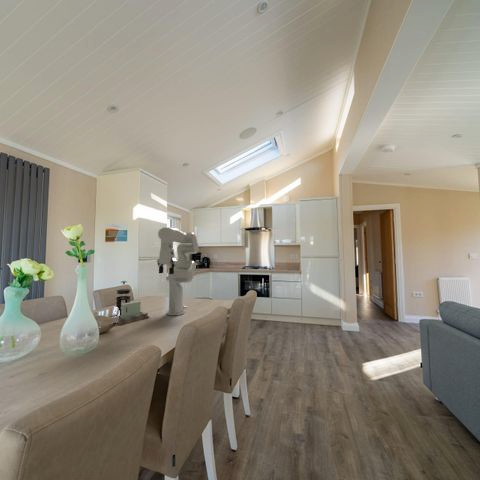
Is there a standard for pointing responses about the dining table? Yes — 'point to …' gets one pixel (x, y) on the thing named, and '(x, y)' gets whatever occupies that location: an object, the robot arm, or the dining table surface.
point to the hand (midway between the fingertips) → (166, 273)
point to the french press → (122, 297)
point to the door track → (132, 318)
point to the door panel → (130, 309)
